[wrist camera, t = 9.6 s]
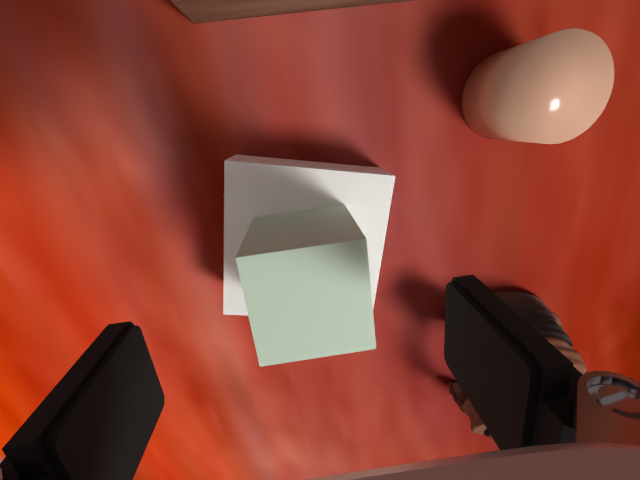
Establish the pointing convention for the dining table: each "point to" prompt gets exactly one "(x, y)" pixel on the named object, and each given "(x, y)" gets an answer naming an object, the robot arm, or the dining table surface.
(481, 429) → the pottery mug
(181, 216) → the dining table surface
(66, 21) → the dining table surface
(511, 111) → the glossy beige egg
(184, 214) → the dining table surface
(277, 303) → the green block
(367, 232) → the base slab
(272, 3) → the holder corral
